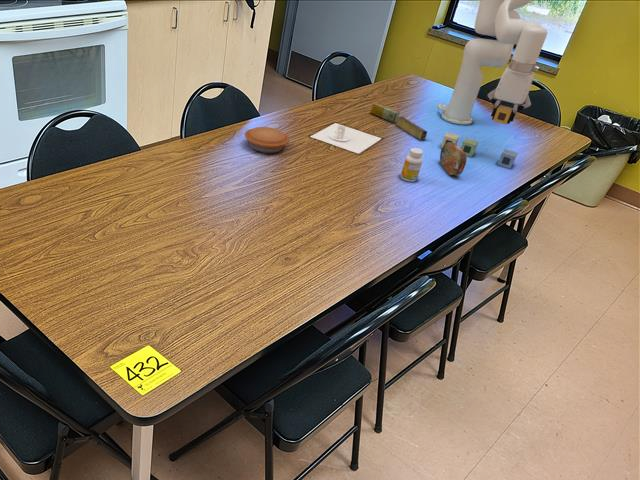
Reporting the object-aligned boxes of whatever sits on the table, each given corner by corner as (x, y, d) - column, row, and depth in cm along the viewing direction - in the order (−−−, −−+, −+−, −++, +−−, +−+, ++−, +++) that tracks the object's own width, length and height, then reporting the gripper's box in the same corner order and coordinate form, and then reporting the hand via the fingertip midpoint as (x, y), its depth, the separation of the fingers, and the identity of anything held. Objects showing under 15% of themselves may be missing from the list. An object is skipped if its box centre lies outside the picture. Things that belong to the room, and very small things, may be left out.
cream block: (440, 147, 212) (444, 135, 209) (443, 144, 215) (447, 132, 212) (452, 151, 210) (456, 139, 207) (455, 147, 213) (459, 135, 210)
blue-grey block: (497, 164, 204) (502, 152, 201) (499, 160, 207) (504, 148, 204) (510, 168, 202) (515, 156, 199) (512, 164, 206) (517, 152, 203)
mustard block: (492, 121, 198) (497, 108, 196) (495, 117, 202) (500, 104, 199) (506, 124, 197) (511, 111, 194) (508, 121, 200) (513, 108, 197)
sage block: (458, 153, 209) (463, 141, 206) (462, 149, 212) (466, 137, 210) (471, 157, 207) (475, 145, 205) (474, 153, 211) (478, 141, 208)
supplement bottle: (400, 173, 190) (408, 145, 184) (417, 176, 190) (425, 149, 184) (399, 179, 186) (407, 151, 180) (416, 183, 185) (424, 155, 179)
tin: (437, 160, 202) (444, 137, 197) (445, 160, 202) (453, 138, 197) (452, 179, 190) (461, 156, 185) (461, 180, 191) (470, 156, 186)
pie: (292, 156, 193) (294, 142, 190) (247, 155, 190) (249, 141, 187) (282, 138, 205) (284, 124, 202) (240, 136, 202) (241, 123, 199)
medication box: (397, 122, 229) (400, 112, 226) (393, 123, 227) (397, 113, 225) (373, 112, 235) (376, 102, 233) (369, 112, 233) (372, 102, 231)
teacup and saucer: (335, 131, 215) (337, 120, 212) (354, 137, 211) (356, 127, 209) (324, 137, 209) (326, 126, 206) (343, 144, 205) (346, 133, 203)
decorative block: (425, 140, 216) (428, 131, 214) (420, 140, 215) (423, 131, 213) (400, 124, 227) (402, 116, 225) (395, 125, 226) (398, 116, 224)
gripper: (549, 70, 188) (527, 124, 199) (497, 58, 194) (479, 111, 205) (546, 75, 182) (523, 130, 193) (493, 63, 189) (474, 117, 200)
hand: (501, 120), depth 199 cm, fingers closed on mustard block, 4 cm apart
